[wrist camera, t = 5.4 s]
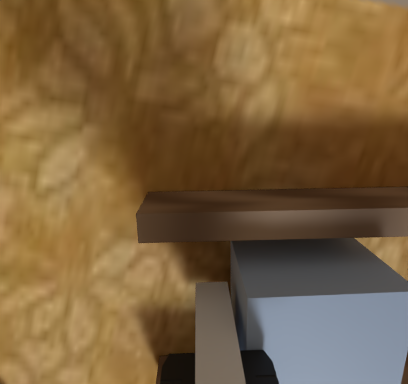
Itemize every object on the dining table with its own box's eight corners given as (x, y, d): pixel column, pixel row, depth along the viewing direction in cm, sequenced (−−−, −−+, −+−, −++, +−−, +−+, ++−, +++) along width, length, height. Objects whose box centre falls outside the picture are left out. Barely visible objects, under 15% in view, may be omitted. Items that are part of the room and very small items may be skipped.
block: (230, 333, 16) (245, 427, 11) (230, 236, 15) (247, 298, 10) (335, 329, 16) (393, 420, 12) (346, 232, 15) (420, 291, 10)
